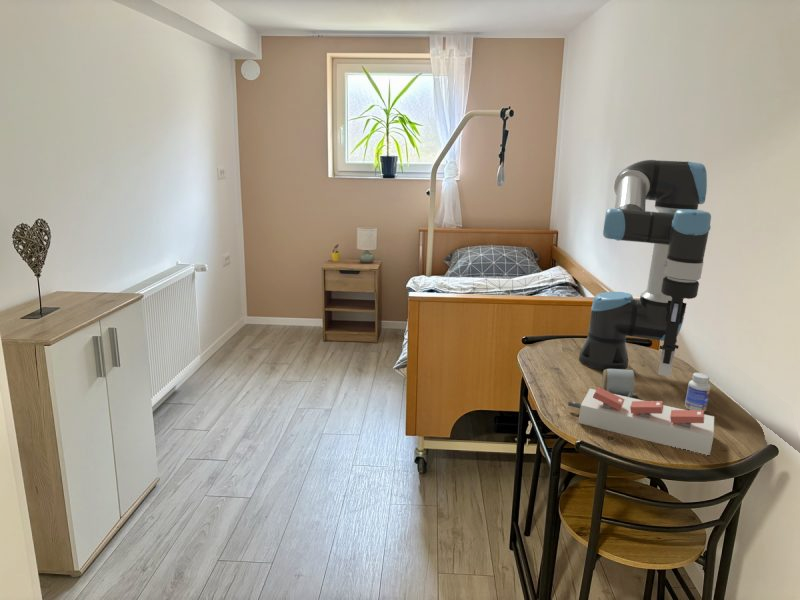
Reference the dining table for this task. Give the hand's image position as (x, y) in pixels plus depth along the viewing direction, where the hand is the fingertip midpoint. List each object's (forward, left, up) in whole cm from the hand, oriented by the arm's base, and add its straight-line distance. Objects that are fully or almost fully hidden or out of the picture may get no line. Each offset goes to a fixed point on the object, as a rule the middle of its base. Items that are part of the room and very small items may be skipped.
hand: (664, 374), depth 140 cm
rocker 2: (0, -3, -9) cm, 10 cm away
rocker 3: (0, +6, -9) cm, 11 cm away
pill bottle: (-24, +8, -17) cm, 30 cm away
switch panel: (-3, -4, -16) cm, 17 cm away
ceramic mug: (-20, -11, -17) cm, 29 cm away
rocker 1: (0, -12, -9) cm, 15 cm away
